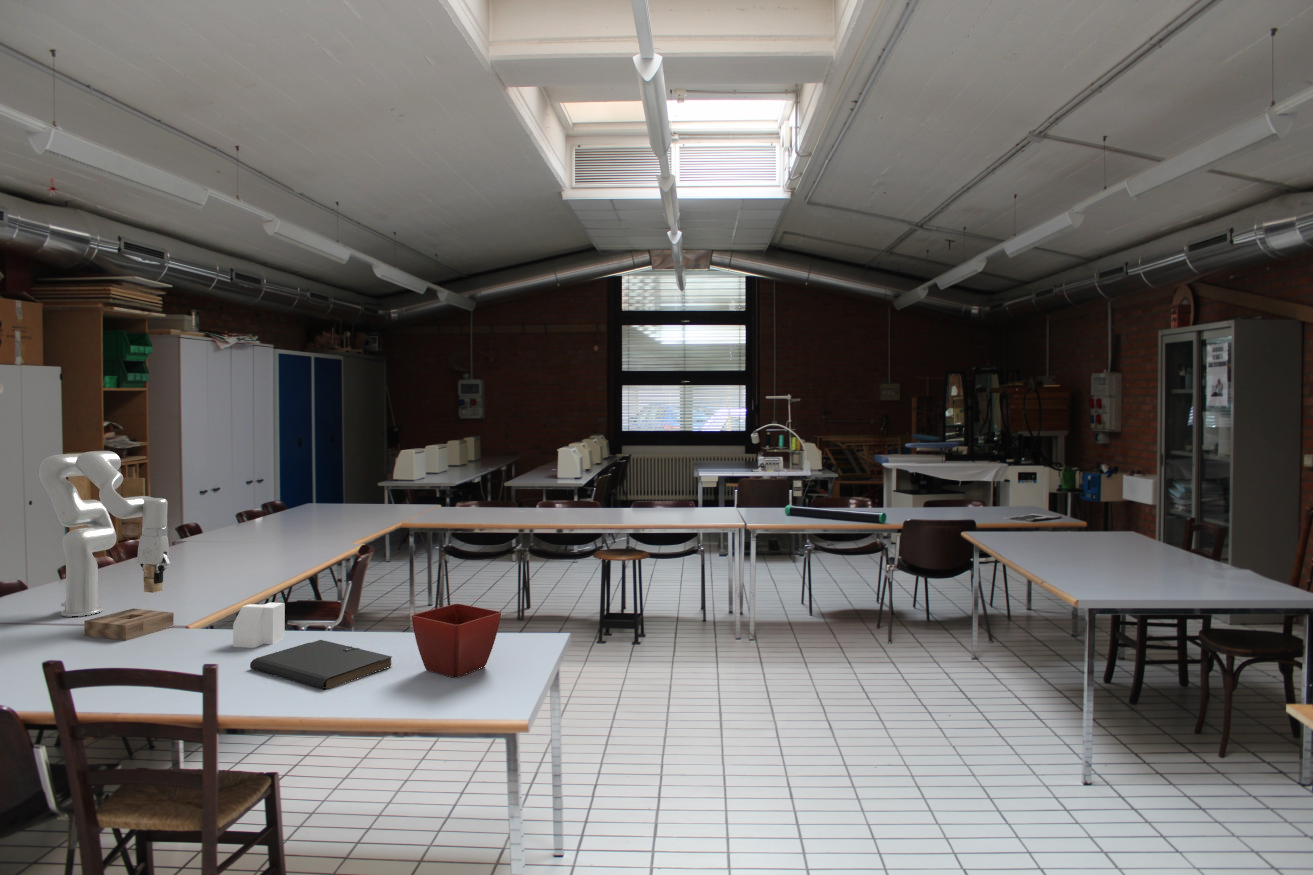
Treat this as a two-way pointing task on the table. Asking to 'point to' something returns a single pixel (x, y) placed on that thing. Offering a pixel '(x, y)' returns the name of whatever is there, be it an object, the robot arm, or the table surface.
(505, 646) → the table surface
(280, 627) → the corner bracket
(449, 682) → the table surface
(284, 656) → the dark grey book
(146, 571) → the peg
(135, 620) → the board
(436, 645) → the plant pot
